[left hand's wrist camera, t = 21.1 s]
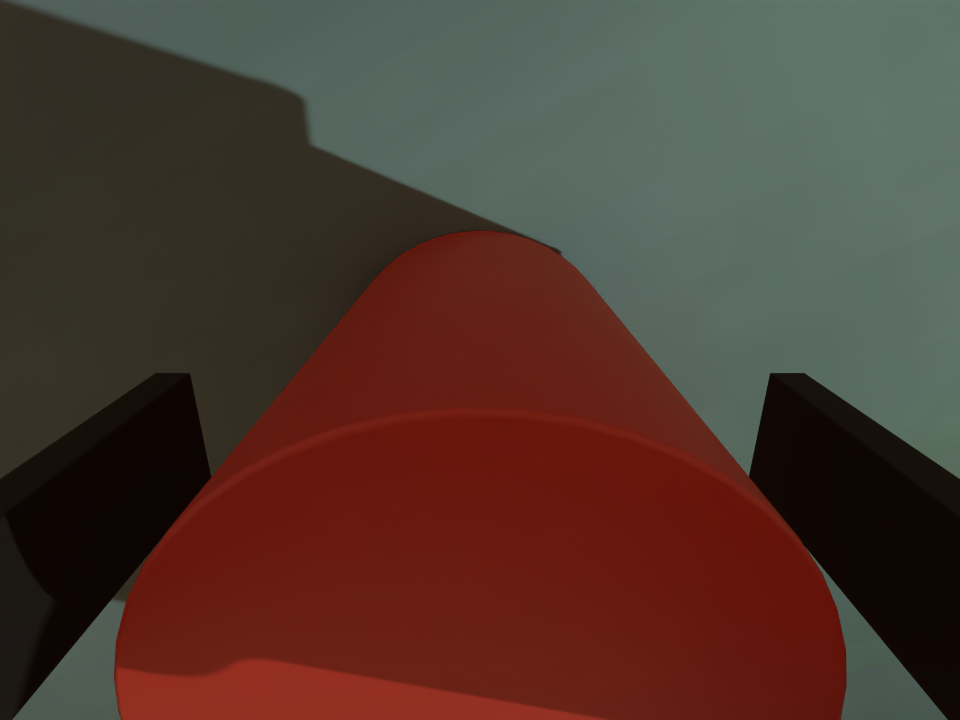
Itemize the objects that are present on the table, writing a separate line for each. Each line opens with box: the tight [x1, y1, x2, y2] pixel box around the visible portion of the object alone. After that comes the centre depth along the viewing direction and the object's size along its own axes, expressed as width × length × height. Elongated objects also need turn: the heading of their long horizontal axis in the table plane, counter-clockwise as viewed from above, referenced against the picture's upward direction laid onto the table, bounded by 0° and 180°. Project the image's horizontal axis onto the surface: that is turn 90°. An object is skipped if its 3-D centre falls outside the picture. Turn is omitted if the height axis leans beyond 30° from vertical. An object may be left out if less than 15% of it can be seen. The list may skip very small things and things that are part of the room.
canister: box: [114, 231, 846, 720], centre depth 11 cm, size 8×8×11 cm
